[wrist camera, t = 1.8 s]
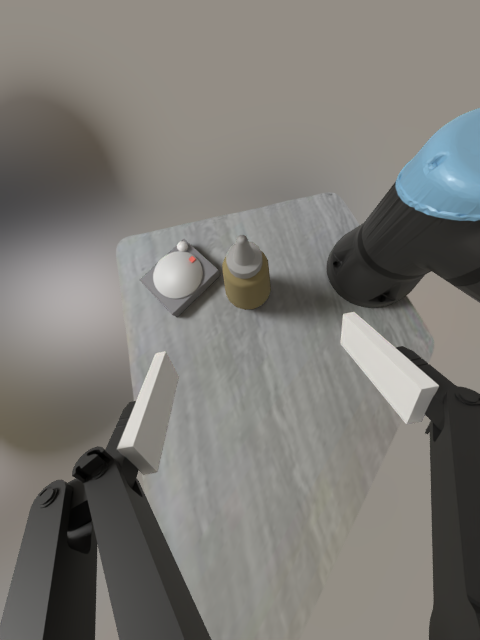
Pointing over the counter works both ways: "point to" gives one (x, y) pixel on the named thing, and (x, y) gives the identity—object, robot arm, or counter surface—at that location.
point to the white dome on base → (180, 277)
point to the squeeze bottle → (246, 274)
